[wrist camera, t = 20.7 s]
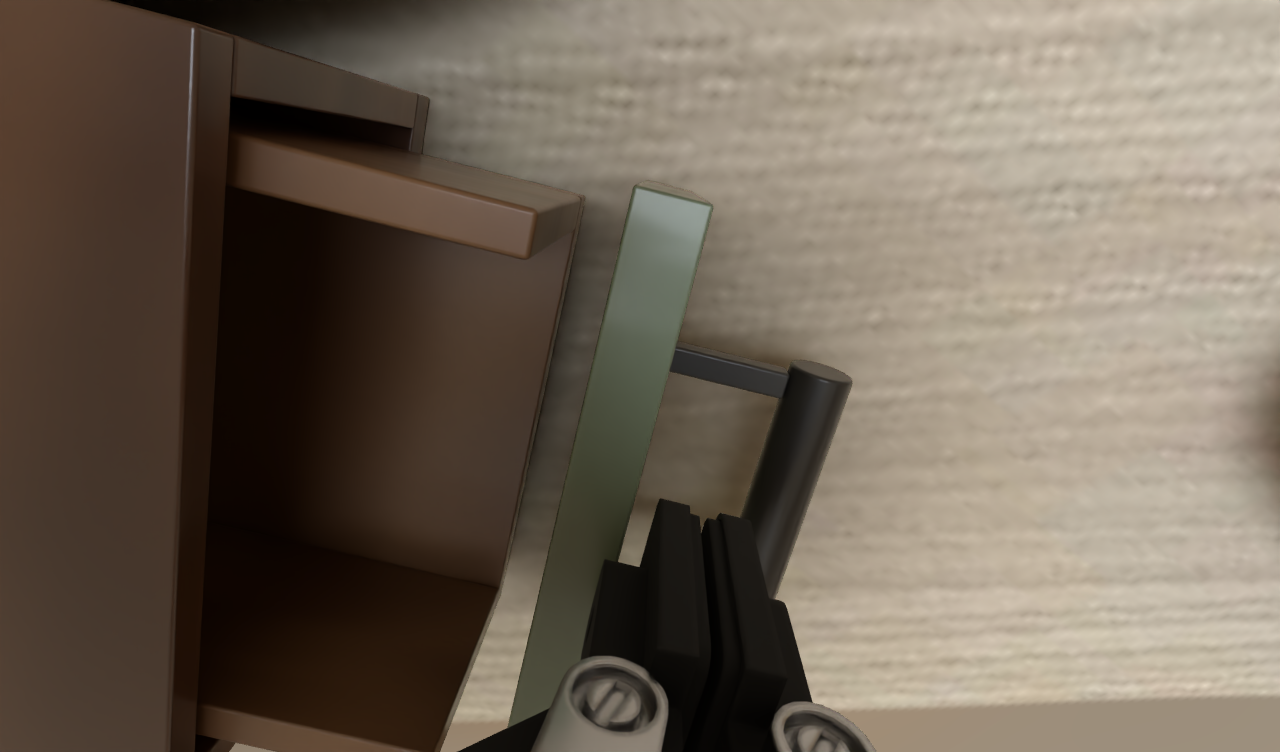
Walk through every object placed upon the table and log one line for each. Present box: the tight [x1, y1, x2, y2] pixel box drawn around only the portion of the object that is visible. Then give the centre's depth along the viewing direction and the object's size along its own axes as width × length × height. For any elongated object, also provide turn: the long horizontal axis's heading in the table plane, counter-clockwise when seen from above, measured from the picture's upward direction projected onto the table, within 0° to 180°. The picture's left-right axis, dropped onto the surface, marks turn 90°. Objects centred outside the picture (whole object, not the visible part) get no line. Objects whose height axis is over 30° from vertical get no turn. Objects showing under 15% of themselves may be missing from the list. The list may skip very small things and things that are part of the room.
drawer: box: [195, 106, 852, 752], centre depth 15 cm, size 18×13×7 cm
